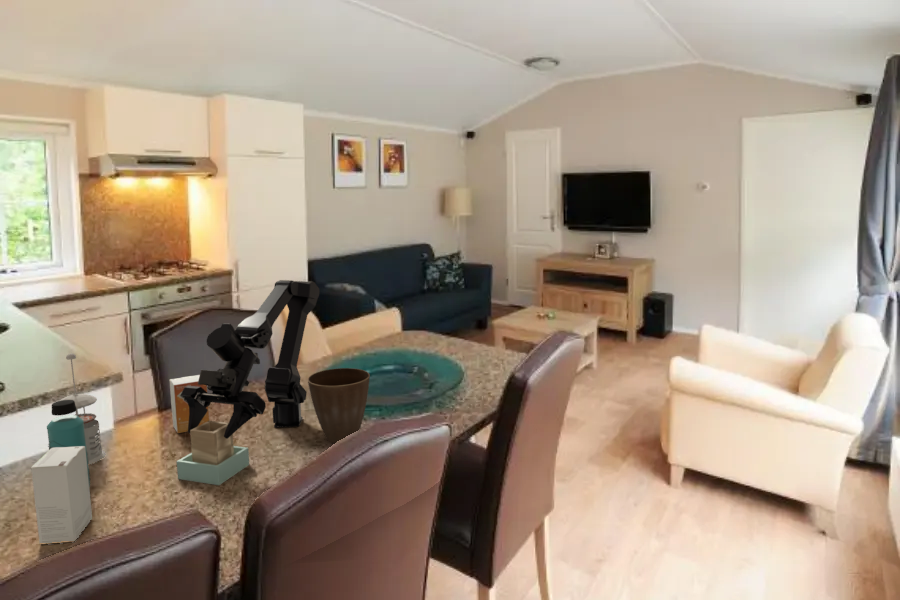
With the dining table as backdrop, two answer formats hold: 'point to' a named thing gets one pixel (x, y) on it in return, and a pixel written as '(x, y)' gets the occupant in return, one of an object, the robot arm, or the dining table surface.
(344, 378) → the plant pot
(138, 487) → the dining table surface
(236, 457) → the teal crate
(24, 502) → the dining table surface
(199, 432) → the birch crate
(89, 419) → the french press
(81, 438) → the beverage bottle
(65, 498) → the skincare box
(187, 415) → the small box
